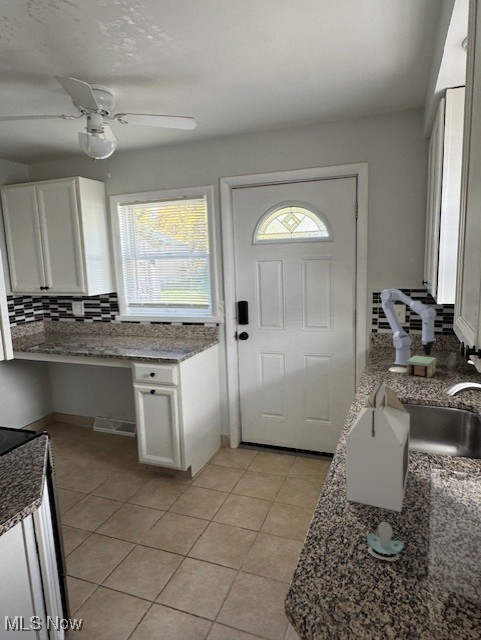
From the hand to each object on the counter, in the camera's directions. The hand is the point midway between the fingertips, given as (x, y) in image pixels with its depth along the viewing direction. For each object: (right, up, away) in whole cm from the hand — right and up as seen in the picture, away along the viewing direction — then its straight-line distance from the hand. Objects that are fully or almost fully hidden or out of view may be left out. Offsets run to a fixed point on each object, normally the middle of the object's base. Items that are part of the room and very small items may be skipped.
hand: (427, 355), depth 224 cm
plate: (-16, -8, -1) cm, 18 cm away
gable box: (-64, -26, -111) cm, 131 cm away
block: (-8, -9, -9) cm, 15 cm away
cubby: (-7, -9, -8) cm, 14 cm away
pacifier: (-72, -30, -137) cm, 158 cm away
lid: (-7, -3, -9) cm, 12 cm away
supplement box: (-54, -21, -78) cm, 97 cm away
